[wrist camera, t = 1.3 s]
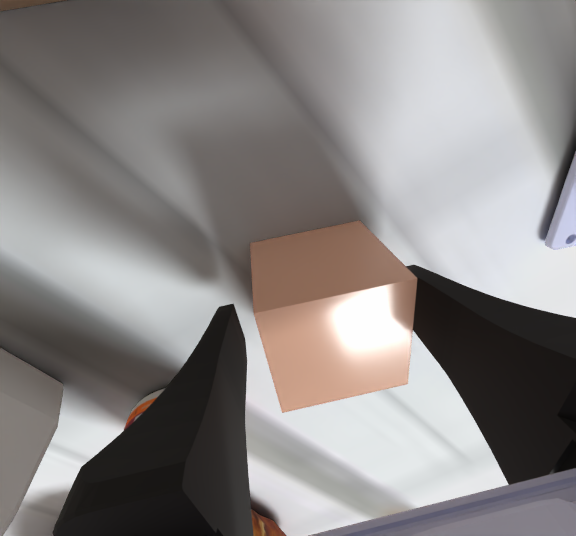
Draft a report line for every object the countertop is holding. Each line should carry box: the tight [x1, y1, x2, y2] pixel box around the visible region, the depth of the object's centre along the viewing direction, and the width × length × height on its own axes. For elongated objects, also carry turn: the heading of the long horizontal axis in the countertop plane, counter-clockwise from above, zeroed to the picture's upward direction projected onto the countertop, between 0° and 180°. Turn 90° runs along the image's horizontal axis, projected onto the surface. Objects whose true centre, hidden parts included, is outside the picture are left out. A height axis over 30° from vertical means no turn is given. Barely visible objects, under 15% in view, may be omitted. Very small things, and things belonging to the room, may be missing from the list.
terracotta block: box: [250, 220, 417, 413], centre depth 12 cm, size 5×5×5 cm
